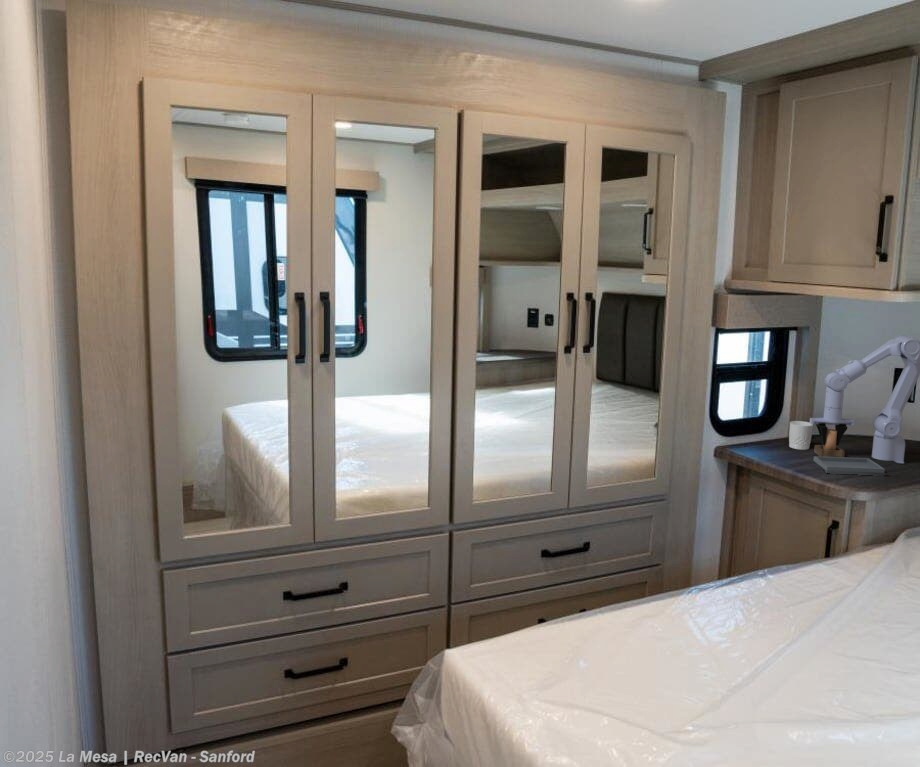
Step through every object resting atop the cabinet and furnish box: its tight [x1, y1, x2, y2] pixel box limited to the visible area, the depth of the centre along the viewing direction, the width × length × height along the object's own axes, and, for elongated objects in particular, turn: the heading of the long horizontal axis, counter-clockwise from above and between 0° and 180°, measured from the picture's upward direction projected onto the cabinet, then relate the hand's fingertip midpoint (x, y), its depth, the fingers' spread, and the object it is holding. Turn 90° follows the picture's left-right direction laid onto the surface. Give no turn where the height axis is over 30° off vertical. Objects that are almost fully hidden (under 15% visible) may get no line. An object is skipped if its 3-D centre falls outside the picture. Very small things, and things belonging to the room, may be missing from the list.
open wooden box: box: [813, 444, 846, 457], centre depth 272 cm, size 8×8×4 cm
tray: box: [813, 455, 886, 477], centre depth 257 cm, size 18×13×2 cm
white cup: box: [788, 420, 814, 451], centre depth 282 cm, size 8×8×10 cm
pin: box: [823, 428, 837, 450], centre depth 271 cm, size 4×4×9 cm
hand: (829, 444), depth 271 cm, fingers closed on pin, 4 cm apart
